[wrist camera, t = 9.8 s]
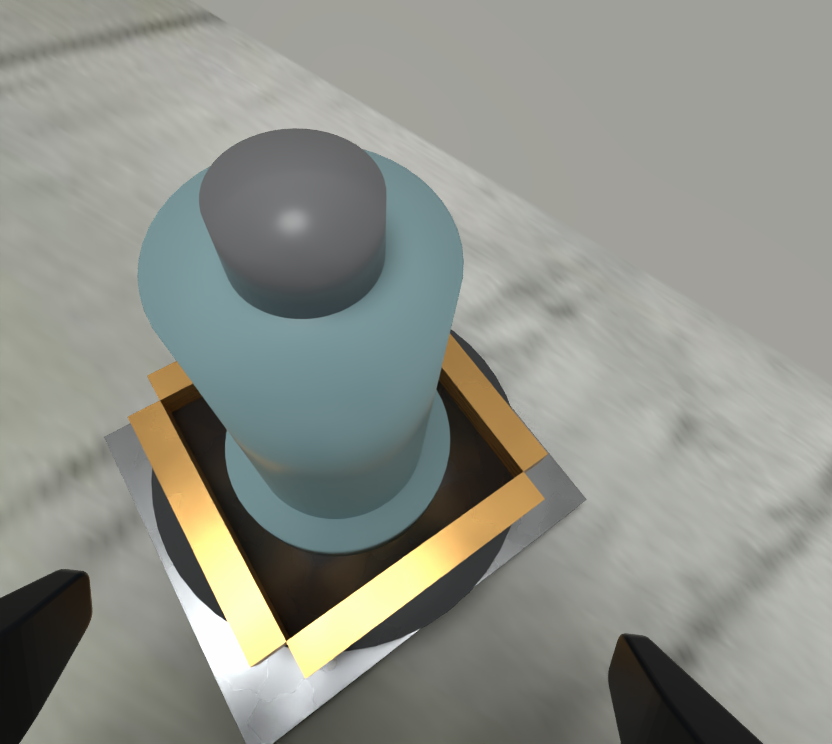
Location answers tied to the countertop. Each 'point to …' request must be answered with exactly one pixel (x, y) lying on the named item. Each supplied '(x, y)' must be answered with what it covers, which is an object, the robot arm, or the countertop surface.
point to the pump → (313, 331)
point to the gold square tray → (324, 575)
